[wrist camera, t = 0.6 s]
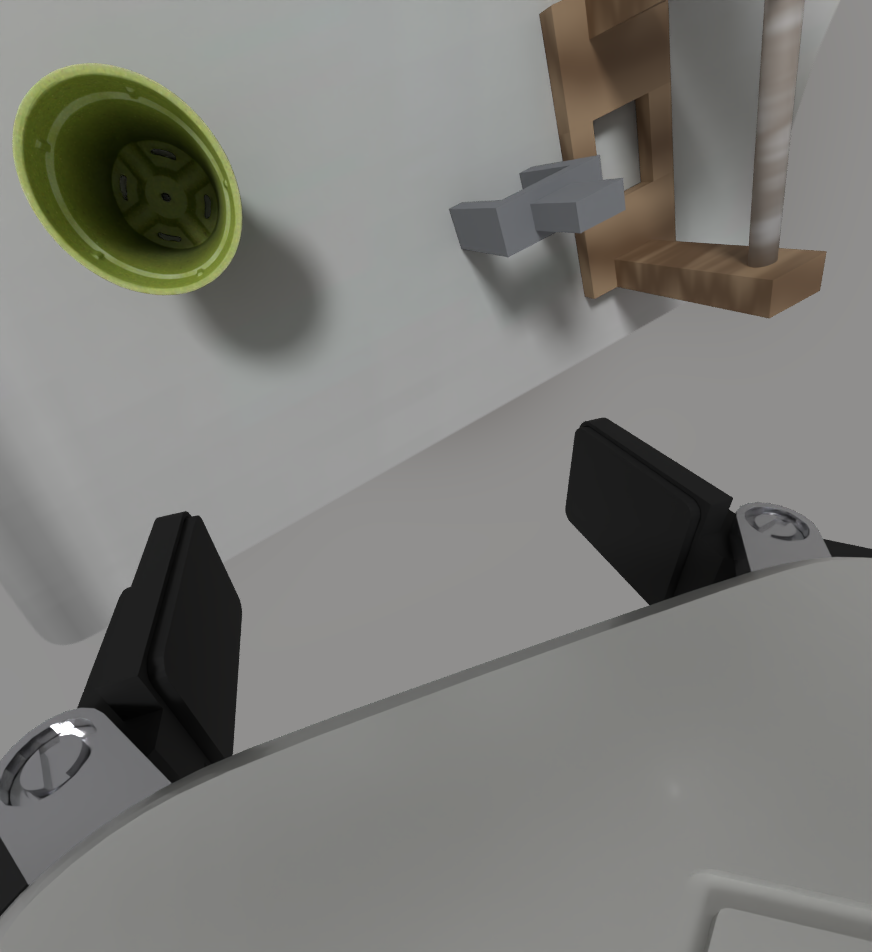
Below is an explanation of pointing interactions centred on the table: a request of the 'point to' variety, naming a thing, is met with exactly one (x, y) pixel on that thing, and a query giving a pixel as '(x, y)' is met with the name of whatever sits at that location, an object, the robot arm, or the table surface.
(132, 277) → the plant pot
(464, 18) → the table surface
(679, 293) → the rack
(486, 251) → the stepped gray bar
